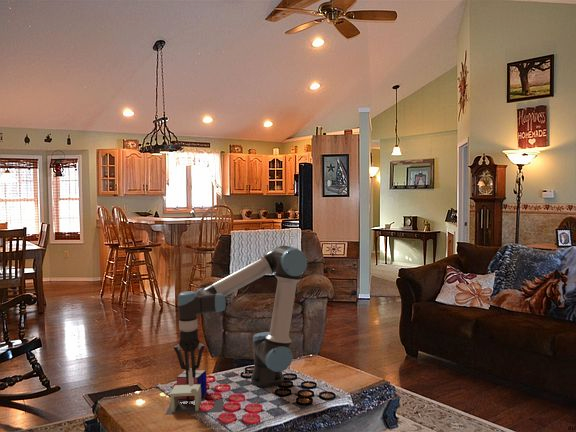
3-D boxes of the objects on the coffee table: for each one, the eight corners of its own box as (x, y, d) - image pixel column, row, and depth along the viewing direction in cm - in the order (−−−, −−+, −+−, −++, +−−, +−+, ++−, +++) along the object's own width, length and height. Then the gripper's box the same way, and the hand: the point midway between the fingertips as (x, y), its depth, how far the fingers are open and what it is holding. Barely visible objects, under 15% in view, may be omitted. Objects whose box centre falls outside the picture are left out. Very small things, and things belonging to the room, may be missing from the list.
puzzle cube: (199, 400, 223) (198, 377, 223) (177, 399, 225) (176, 376, 225) (207, 392, 233) (206, 370, 233) (186, 391, 235) (185, 369, 235)
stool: (200, 384, 222) (174, 385, 221) (197, 392, 213) (170, 393, 212) (201, 401, 222) (175, 402, 222) (198, 410, 213) (171, 412, 213)
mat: (225, 399, 224) (224, 398, 224) (221, 412, 211) (221, 411, 211) (171, 402, 224) (171, 401, 224) (165, 415, 211) (165, 414, 211)
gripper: (205, 326, 219) (208, 380, 221) (174, 327, 219) (177, 382, 221) (203, 331, 212) (205, 387, 213) (171, 332, 212) (173, 389, 213)
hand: (191, 384), depth 217 cm, fingers closed
